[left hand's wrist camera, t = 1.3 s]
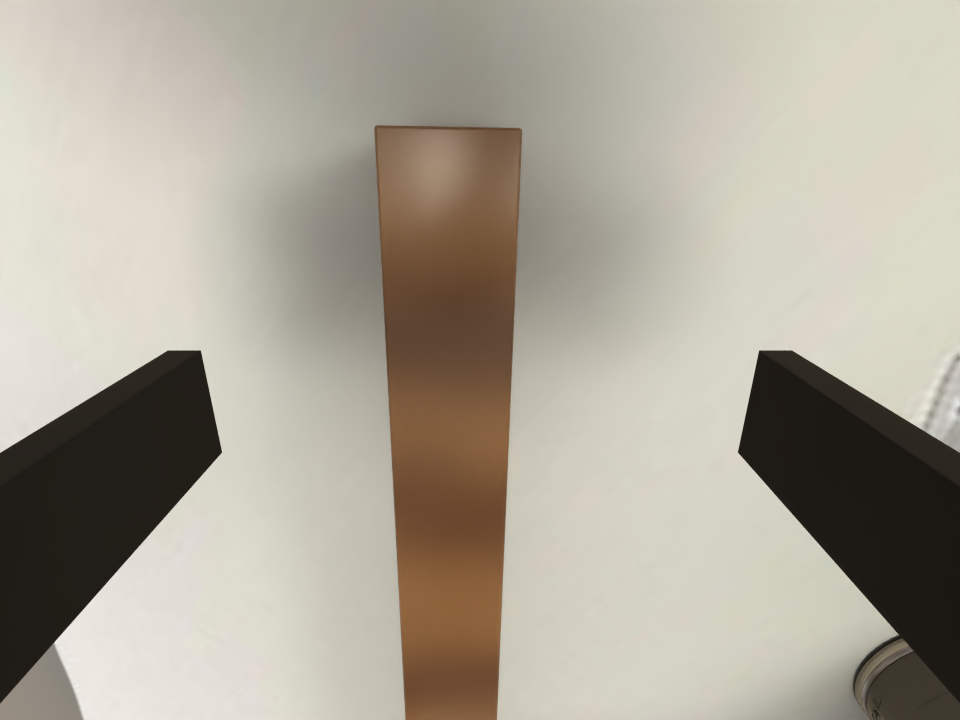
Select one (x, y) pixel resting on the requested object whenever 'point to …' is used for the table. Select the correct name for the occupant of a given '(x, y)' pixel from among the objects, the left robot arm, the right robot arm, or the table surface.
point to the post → (449, 399)
